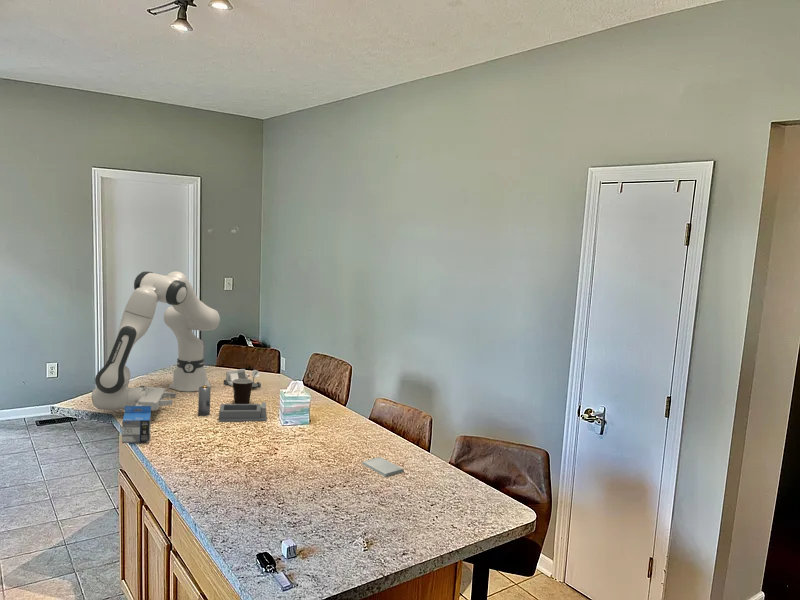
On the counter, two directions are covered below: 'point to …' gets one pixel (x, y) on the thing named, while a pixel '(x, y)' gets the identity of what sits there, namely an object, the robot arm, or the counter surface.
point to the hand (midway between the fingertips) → (174, 398)
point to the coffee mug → (242, 390)
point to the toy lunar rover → (240, 377)
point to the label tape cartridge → (136, 424)
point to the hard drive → (383, 466)
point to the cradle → (242, 412)
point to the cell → (204, 401)
